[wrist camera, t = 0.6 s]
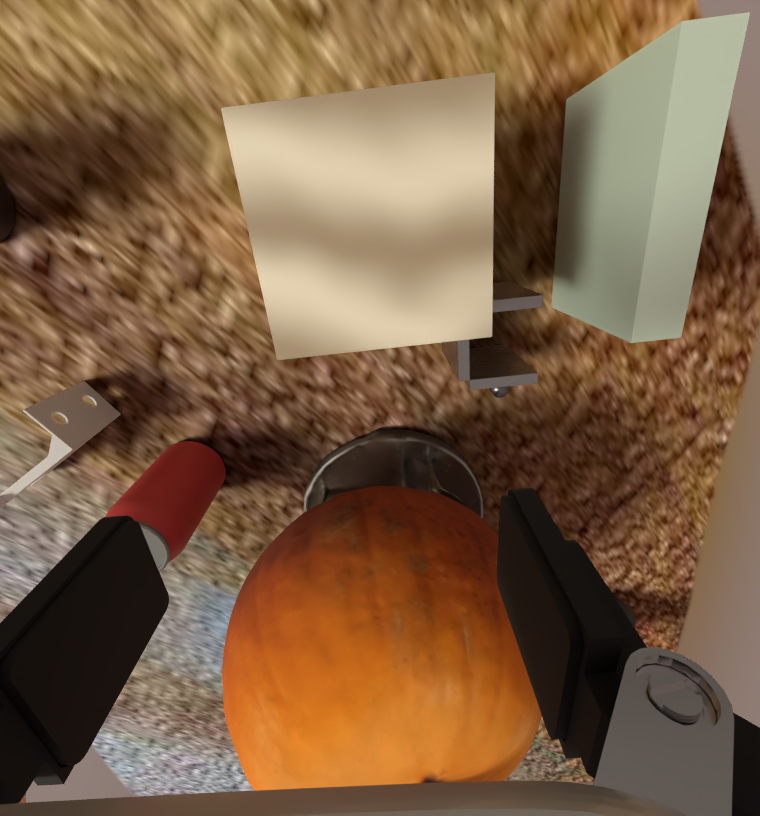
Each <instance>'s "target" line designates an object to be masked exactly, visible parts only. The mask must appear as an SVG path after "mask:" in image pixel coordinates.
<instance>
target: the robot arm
mask: <svg viewBox="0 0 760 816" xmlns="http://www.w3.org/2000/svg"><path fill="white" fill-rule="evenodd" d="M496 576H497V584H498V588H499V591H500V594H501V597H502V600H503V603H504V606H505V609H506V612H507V615H508V618H509V621H510V624H511V627H512V629H513V632H514V635H515V638H516V641H517V644H518V647H519V650H520V653H521V656H522V659H523V662H524V665H525V667H526V670H527V673H528V676H529V679H530V682H531V685H532V688H533V691H534V694H535V697H536V700H537V703H538V706H539V708H540V711H541V714H542V717H543V720H544V723H545V726H546V729H547V731H548V734H549V736H550V737H551V739H559V741H560V743H561V746H562V749H563V752H564V755H565V757H566V758H581V759H582V762H583V765H584V767H585V770H586V772H587V773H588V774H589V775H590V776H592V777H593V778H594V779H595V780H594V784H593V785H586V784H579V783H572V782H550V781H480V782H436V783H413V784H390V785H368V786H345V787H322V788H300V789H279V790H259V791H239V792H219V793H199V794H179V795H160V796H140V797H124V798H123V797H122V798H105V799H88V800H70V801H53V802H52V801H51V802H33V803H26V798H25V797H26V795H25V794H26V791H27V790H28V788H29V787H30V785H31V783H32V782H33V780H34V781H35V783H36V784H37V785H54V784H64V783H65V781H66V779H67V777H68V776H69V774H70V772H71V770H72V769H73V767H74V765H75V764H77V763H78V762H80V761H81V760H82V759H83V758H84V756H85V755H86V753H87V752H88V750H89V748H90V746H91V744H92V743H93V741H94V739H95V737H96V735H97V734H98V732H99V730H100V728H101V726H102V725H103V723H104V721H105V719H106V717H107V716H108V714H109V712H110V710H111V708H112V707H113V705H114V703H115V701H116V700H117V698H118V696H119V694H120V692H121V691H122V689H123V687H124V685H125V683H126V682H127V680H128V678H129V676H130V674H131V673H132V671H133V669H134V667H135V665H136V664H137V662H138V660H139V658H140V656H141V655H142V653H143V651H144V649H145V647H146V646H147V644H148V642H149V640H150V639H151V637H152V635H153V633H154V631H155V630H156V628H157V626H158V624H159V622H160V621H161V619H162V617H163V615H164V613H165V612H166V610H167V607H168V603H169V596H168V592H167V590H166V588H165V585H164V583H163V580H162V578H161V575H160V573H159V570H158V568H157V566H156V563H155V561H154V558H153V556H152V553H151V551H150V548H149V546H148V543H147V541H146V539H145V536H144V534H143V531H142V529H141V526H140V524H139V523H138V522H137V521H134V520H133V518H132V517H130V516H112V517H104V518H102V519H101V520H99V521H98V522H97V523H96V524H95V525H94V527H93V528H92V529H91V530H90V531H89V532H88V533H87V534H86V535H85V536H84V537H83V538H82V539H81V540H80V541H79V542H78V543H77V544H76V545H75V546H74V547H73V548H72V549H71V550H70V551H69V552H68V553H67V555H66V556H65V557H64V558H63V559H62V560H61V561H60V562H59V563H58V564H57V565H56V566H55V567H54V568H53V569H52V570H51V571H50V572H49V573H48V574H47V575H46V576H45V577H44V578H43V579H42V580H41V582H40V583H39V584H38V585H37V586H36V587H35V588H34V589H33V590H32V591H31V592H30V593H29V594H28V595H27V596H26V597H25V598H24V599H23V600H22V601H21V602H20V603H19V604H18V605H17V606H16V607H15V608H14V610H13V611H12V612H11V613H10V614H9V615H8V616H7V617H6V618H5V619H4V620H3V621H2V622H1V623H0V816H760V728H759V727H757V726H755V725H754V724H752V723H750V722H748V721H747V720H745V719H743V718H742V717H740V716H738V715H736V714H734V713H733V710H732V705H731V703H730V701H729V699H728V697H727V695H726V693H725V691H724V690H723V689H722V687H721V686H720V685H719V684H718V683H717V681H716V680H715V679H714V678H713V677H712V676H711V675H710V674H709V673H708V672H707V671H705V670H704V669H703V668H702V667H701V666H699V665H698V664H697V663H695V662H693V661H692V660H690V659H688V658H686V657H685V656H683V655H681V654H678V653H676V652H673V651H670V650H668V649H663V648H656V647H648V648H647V647H646V645H645V644H644V642H643V641H642V639H641V637H640V636H639V634H638V633H637V631H636V630H635V628H634V627H633V625H632V624H631V622H630V621H629V619H628V617H627V616H626V614H625V613H624V611H623V610H622V608H621V607H620V605H619V604H618V602H617V601H616V599H615V598H614V596H613V594H612V593H611V591H610V590H609V588H608V587H607V585H606V584H605V582H604V581H603V579H602V578H601V576H600V574H599V573H598V571H597V570H596V568H595V567H594V565H593V564H592V562H591V561H590V559H589V558H588V556H587V555H586V553H585V551H584V550H583V548H582V547H581V546H580V545H579V543H578V542H576V541H575V540H567V541H565V539H564V537H563V536H562V534H561V532H560V531H559V529H558V528H557V526H556V524H555V523H554V521H553V519H552V518H551V516H550V514H549V513H548V511H547V510H546V508H545V506H544V505H543V503H542V501H541V500H540V498H539V497H538V495H537V493H536V492H535V490H534V489H532V488H526V489H511V490H509V491H508V496H502V497H501V504H500V521H499V538H498V556H497V573H496Z"/></svg>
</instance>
